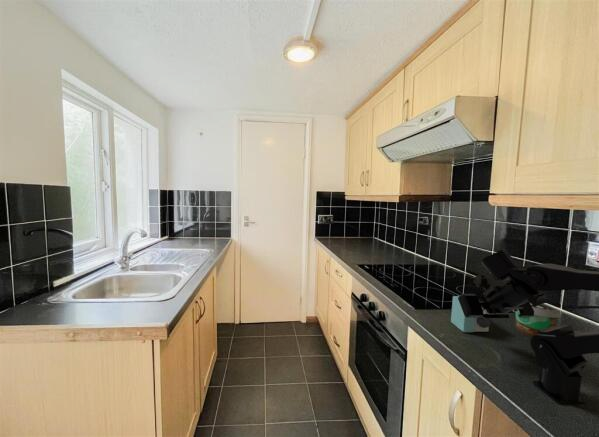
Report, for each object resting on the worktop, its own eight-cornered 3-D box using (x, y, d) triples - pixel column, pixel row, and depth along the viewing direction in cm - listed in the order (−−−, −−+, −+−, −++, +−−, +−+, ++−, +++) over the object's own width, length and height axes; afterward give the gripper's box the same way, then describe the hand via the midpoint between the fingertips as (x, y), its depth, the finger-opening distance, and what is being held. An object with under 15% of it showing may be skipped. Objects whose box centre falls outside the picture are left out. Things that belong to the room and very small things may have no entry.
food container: (502, 326, 93) (505, 297, 92) (513, 323, 95) (516, 295, 94) (545, 345, 82) (548, 313, 81) (557, 341, 84) (561, 310, 83)
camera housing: (490, 333, 88) (492, 310, 87) (474, 333, 88) (476, 310, 87) (465, 314, 101) (466, 295, 100) (451, 314, 101) (453, 294, 100)
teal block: (474, 332, 88) (476, 304, 87) (463, 332, 88) (465, 304, 87) (460, 321, 95) (462, 296, 94) (450, 321, 95) (452, 296, 94)
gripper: (530, 267, 76) (496, 291, 88) (464, 267, 76) (440, 290, 88) (553, 307, 69) (513, 326, 81) (482, 306, 69) (452, 326, 81)
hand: (479, 315), depth 83 cm, fingers closed
